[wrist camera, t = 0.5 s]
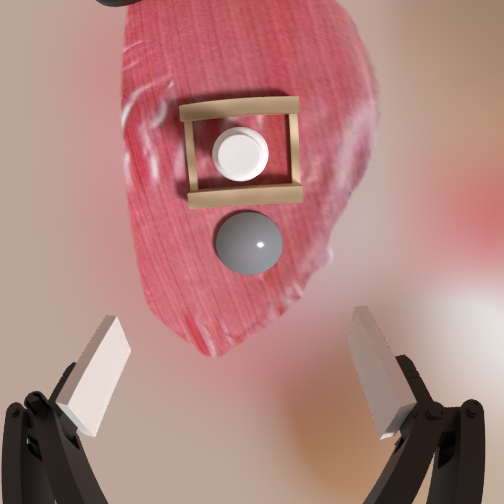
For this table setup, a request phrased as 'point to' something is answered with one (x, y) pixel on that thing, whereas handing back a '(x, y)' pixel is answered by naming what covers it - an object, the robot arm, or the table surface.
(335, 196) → the table surface
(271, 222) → the coaster
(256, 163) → the supplement bottle
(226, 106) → the open wooden frame
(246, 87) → the table surface
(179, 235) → the table surface
